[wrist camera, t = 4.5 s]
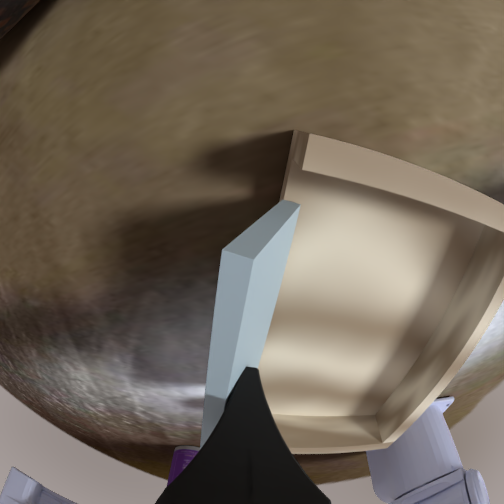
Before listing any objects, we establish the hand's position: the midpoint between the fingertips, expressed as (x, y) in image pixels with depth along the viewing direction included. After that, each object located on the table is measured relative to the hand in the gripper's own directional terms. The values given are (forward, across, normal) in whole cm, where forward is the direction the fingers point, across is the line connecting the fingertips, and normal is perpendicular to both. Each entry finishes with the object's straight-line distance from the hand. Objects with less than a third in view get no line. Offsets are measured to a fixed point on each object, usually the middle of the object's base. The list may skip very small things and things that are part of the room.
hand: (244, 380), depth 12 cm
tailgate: (+4, 0, 0) cm, 4 cm away
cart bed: (+6, -7, 0) cm, 9 cm away
